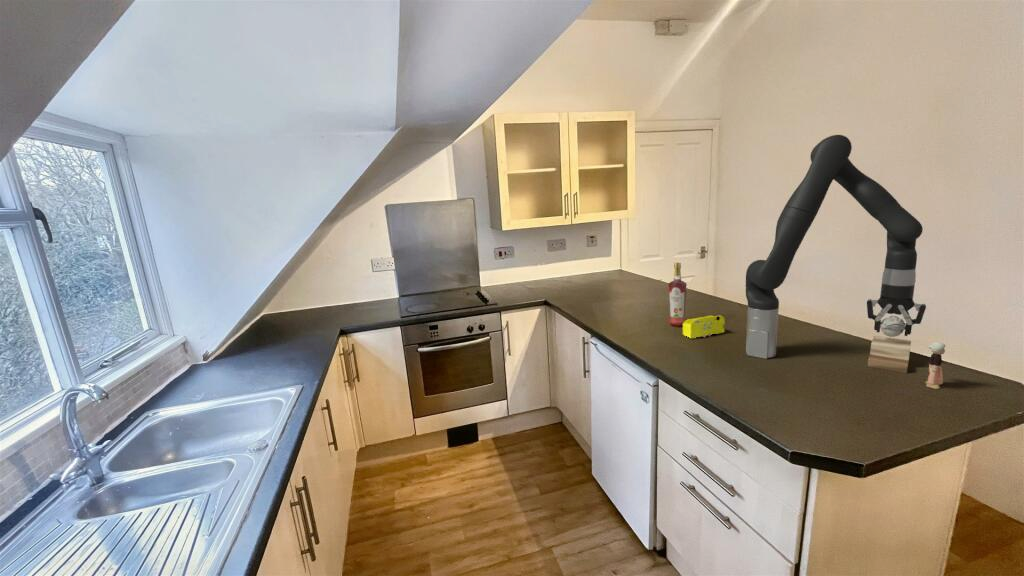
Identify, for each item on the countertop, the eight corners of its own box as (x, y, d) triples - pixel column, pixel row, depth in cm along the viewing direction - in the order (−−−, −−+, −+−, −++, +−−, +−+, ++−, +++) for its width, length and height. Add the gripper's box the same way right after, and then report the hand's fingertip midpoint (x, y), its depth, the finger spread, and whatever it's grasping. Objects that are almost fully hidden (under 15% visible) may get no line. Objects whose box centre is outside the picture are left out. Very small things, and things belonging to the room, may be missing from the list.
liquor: (687, 323, 184) (688, 261, 178) (684, 328, 178) (685, 264, 172) (670, 321, 188) (670, 261, 182) (666, 326, 182) (666, 264, 176)
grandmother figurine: (946, 391, 112) (953, 347, 109) (927, 389, 114) (933, 346, 111) (937, 380, 118) (944, 338, 115) (919, 378, 120) (925, 337, 117)
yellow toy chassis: (691, 340, 164) (691, 320, 162) (682, 336, 169) (682, 317, 167) (725, 334, 167) (725, 314, 166) (714, 330, 173) (715, 311, 171)
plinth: (906, 373, 123) (909, 354, 122) (867, 366, 130) (869, 348, 128) (908, 358, 133) (911, 340, 132) (872, 352, 139) (874, 335, 138)
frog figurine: (883, 339, 130) (885, 318, 128) (875, 332, 136) (877, 312, 134) (908, 341, 127) (911, 319, 126) (899, 333, 133) (901, 313, 132)
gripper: (866, 282, 130) (861, 333, 134) (930, 286, 120) (923, 341, 124) (868, 278, 135) (863, 326, 139) (931, 281, 125) (923, 334, 129)
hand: (891, 333), depth 131 cm, fingers closed on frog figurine, 6 cm apart
